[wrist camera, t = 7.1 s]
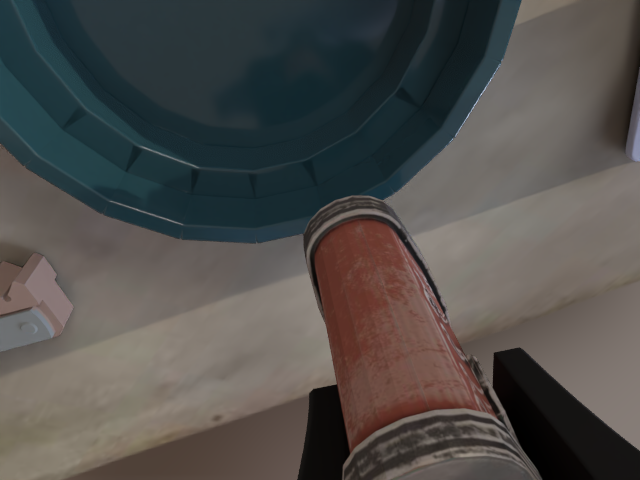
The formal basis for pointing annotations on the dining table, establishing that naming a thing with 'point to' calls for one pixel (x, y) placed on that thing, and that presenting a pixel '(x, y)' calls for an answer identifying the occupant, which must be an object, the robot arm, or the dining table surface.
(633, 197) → the dining table surface
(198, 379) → the dining table surface
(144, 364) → the dining table surface
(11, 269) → the clamp
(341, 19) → the bowl
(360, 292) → the lighter
